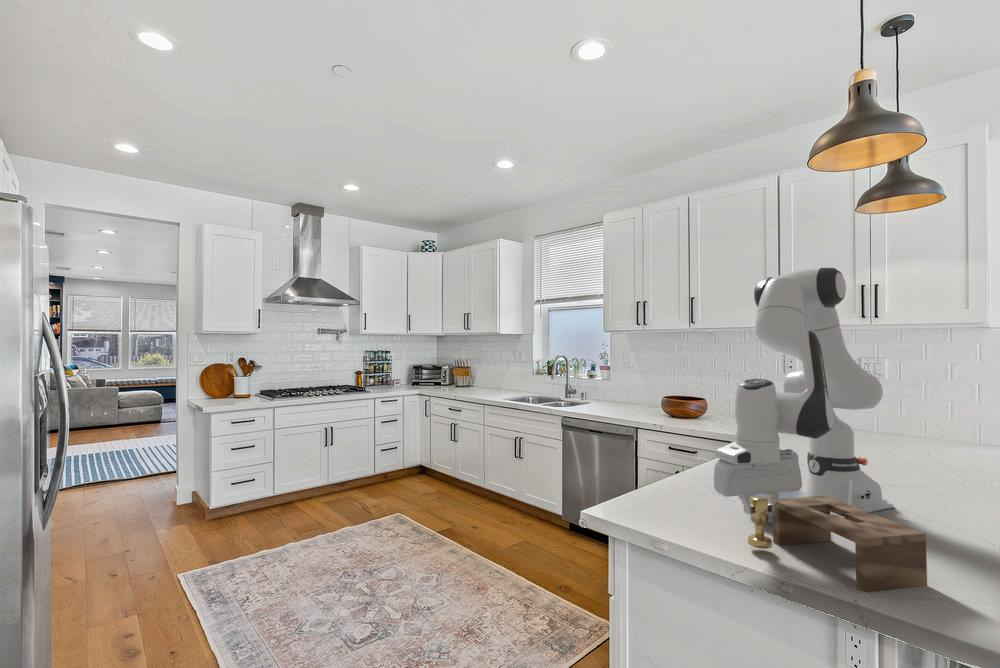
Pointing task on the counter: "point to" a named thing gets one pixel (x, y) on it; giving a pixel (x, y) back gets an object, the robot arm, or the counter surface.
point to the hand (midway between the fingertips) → (759, 512)
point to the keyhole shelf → (856, 540)
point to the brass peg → (759, 523)
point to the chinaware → (781, 496)
